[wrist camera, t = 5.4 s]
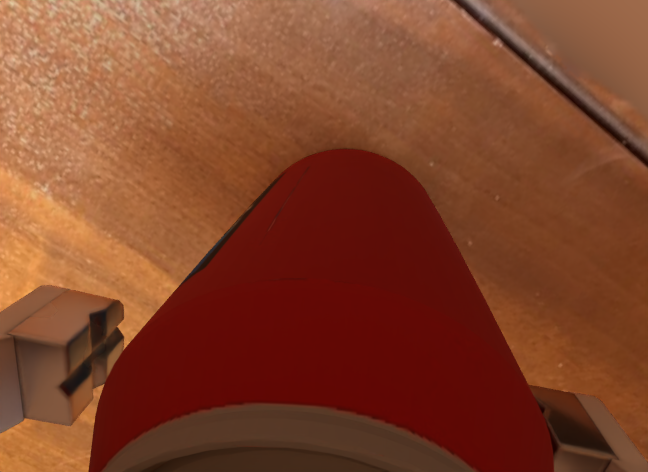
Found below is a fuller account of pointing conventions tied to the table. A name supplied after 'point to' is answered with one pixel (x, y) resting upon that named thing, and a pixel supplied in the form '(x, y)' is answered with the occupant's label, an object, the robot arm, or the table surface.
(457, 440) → the beverage can
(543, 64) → the table surface
